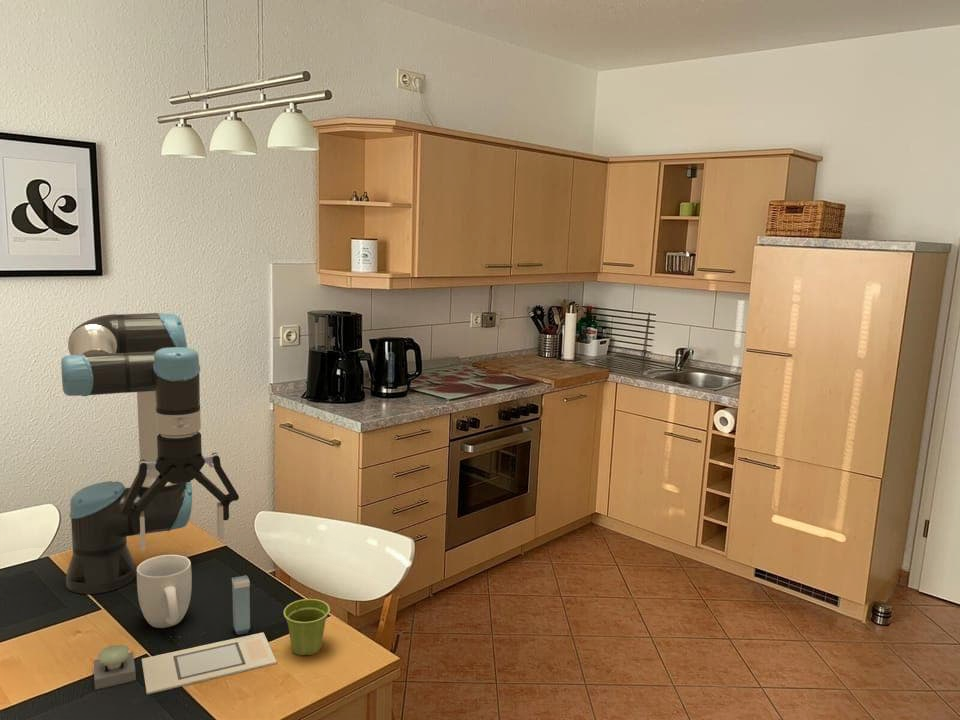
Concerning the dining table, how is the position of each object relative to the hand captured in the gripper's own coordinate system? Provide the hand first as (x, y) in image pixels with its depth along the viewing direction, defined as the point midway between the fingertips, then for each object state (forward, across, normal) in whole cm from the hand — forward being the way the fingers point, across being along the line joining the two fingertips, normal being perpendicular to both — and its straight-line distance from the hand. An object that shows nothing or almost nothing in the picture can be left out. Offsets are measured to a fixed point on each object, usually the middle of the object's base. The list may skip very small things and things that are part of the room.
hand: (182, 542), depth 140 cm
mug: (+28, -2, +22) cm, 36 cm away
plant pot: (+28, +24, 0) cm, 37 cm away
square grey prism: (+28, +12, +12) cm, 33 cm away
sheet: (+28, +4, +3) cm, 28 cm away
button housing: (+28, -12, +6) cm, 31 cm away
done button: (+27, -13, +6) cm, 30 cm away
